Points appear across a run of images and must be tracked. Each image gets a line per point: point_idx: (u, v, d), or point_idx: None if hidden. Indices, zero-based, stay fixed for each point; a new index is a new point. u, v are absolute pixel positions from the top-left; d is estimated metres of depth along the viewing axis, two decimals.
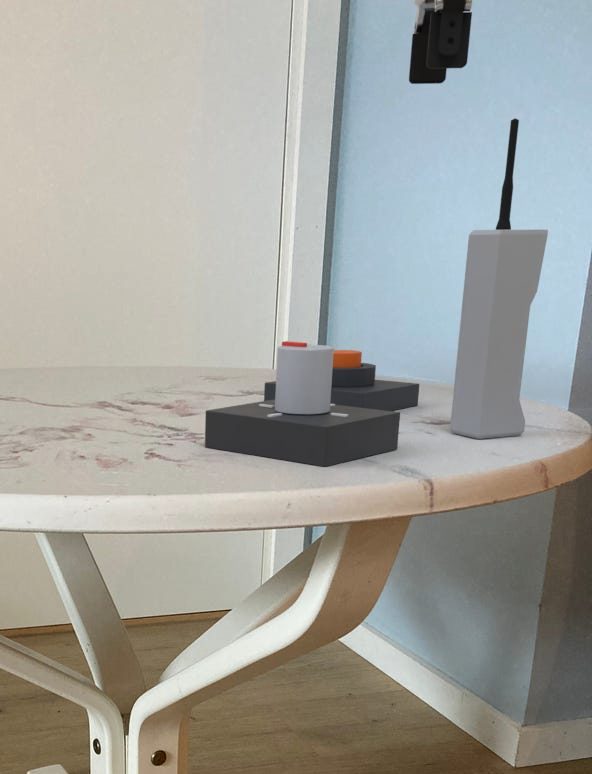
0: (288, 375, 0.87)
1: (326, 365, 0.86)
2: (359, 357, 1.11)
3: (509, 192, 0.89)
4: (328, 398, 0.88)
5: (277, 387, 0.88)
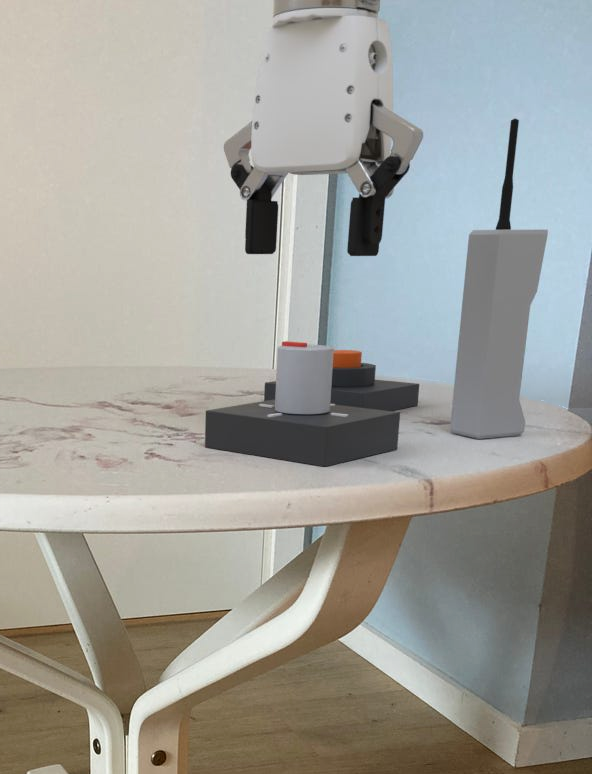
0: (288, 375, 0.87)
1: (326, 365, 0.86)
2: (359, 357, 1.11)
3: (509, 192, 0.89)
4: (328, 398, 0.88)
5: (277, 387, 0.88)
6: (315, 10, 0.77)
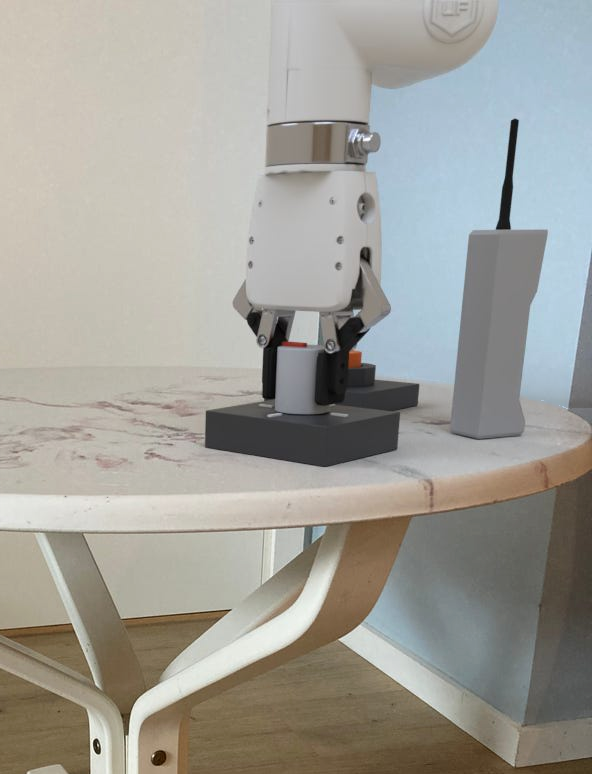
0: (288, 375, 0.87)
1: None
2: (359, 357, 1.11)
3: (509, 192, 0.89)
4: None
5: (277, 387, 0.88)
6: (306, 165, 0.80)
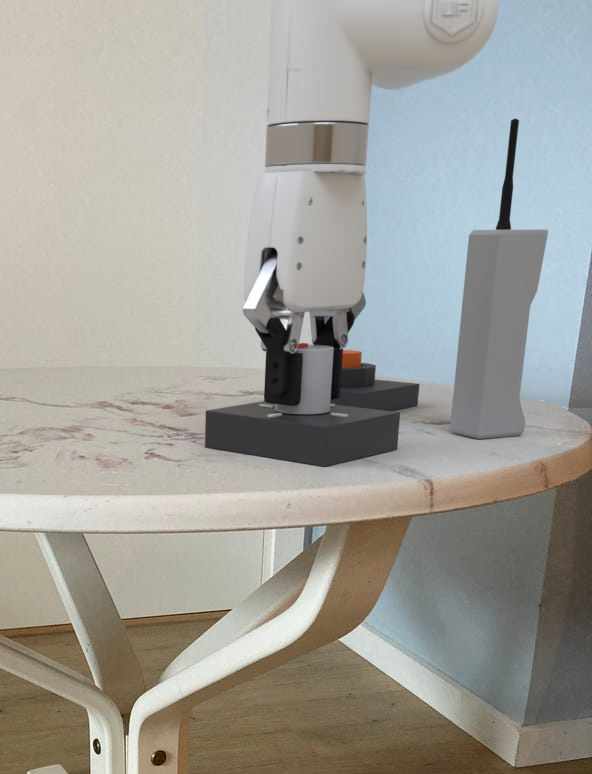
0: (327, 375, 0.87)
1: None
2: (359, 357, 1.11)
3: (509, 192, 0.89)
4: None
5: (313, 390, 0.87)
6: (365, 167, 0.82)
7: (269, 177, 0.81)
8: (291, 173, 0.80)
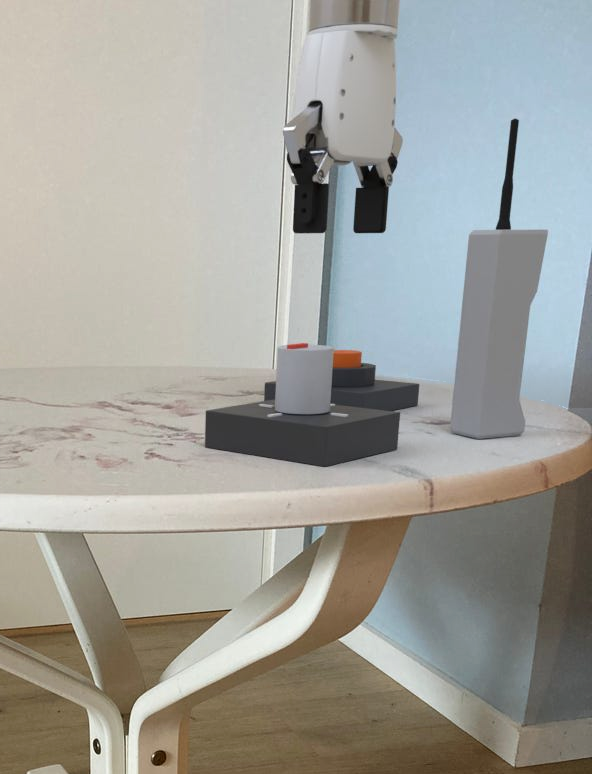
0: (328, 375, 0.87)
1: None
2: (359, 357, 1.11)
3: (509, 192, 0.89)
4: None
5: (314, 390, 0.87)
6: None
7: (315, 37, 0.92)
8: (335, 32, 0.91)
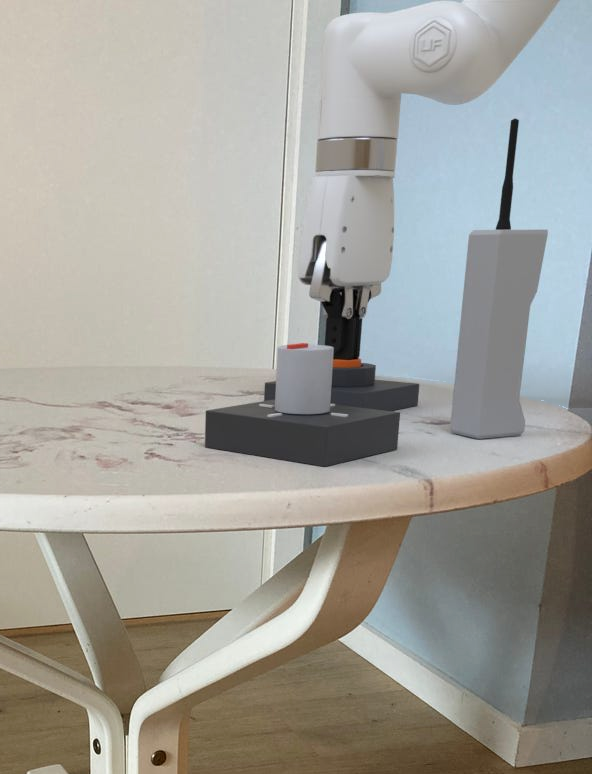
0: (328, 375, 0.87)
1: None
2: (358, 364, 1.11)
3: (509, 192, 0.89)
4: None
5: (314, 390, 0.87)
6: (394, 172, 1.05)
7: (320, 180, 1.04)
8: (338, 177, 1.03)
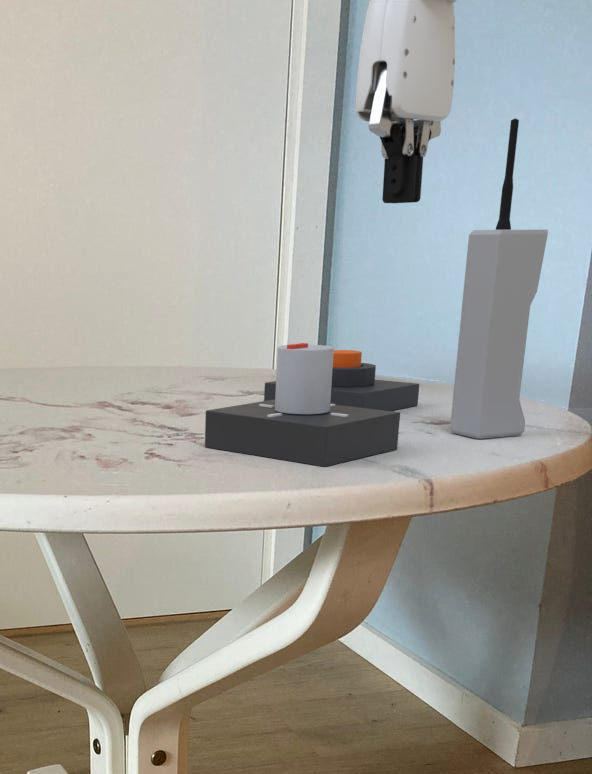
0: (328, 375, 0.87)
1: None
2: (359, 357, 1.11)
3: (509, 192, 0.89)
4: None
5: (314, 390, 0.87)
6: None
7: (380, 1, 0.98)
8: None
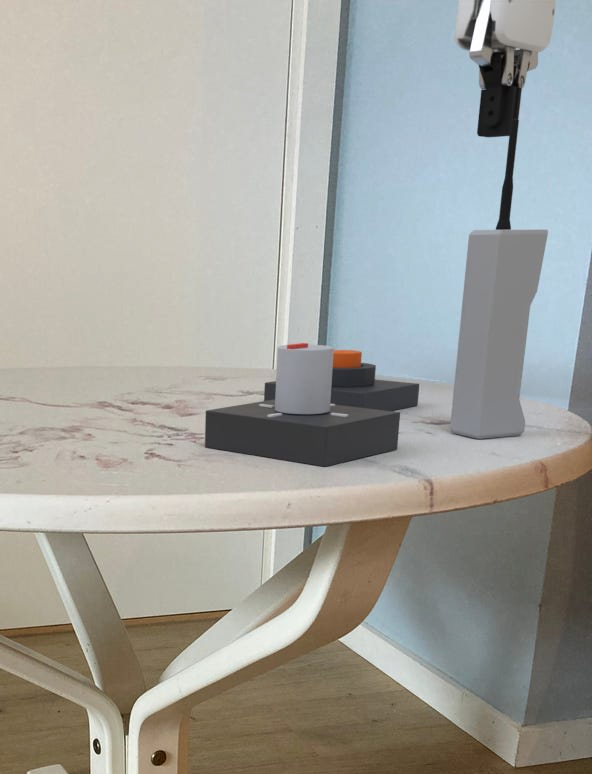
0: (328, 375, 0.87)
1: None
2: (359, 357, 1.11)
3: (509, 192, 0.89)
4: None
5: (314, 390, 0.87)
6: None
7: None
8: None
